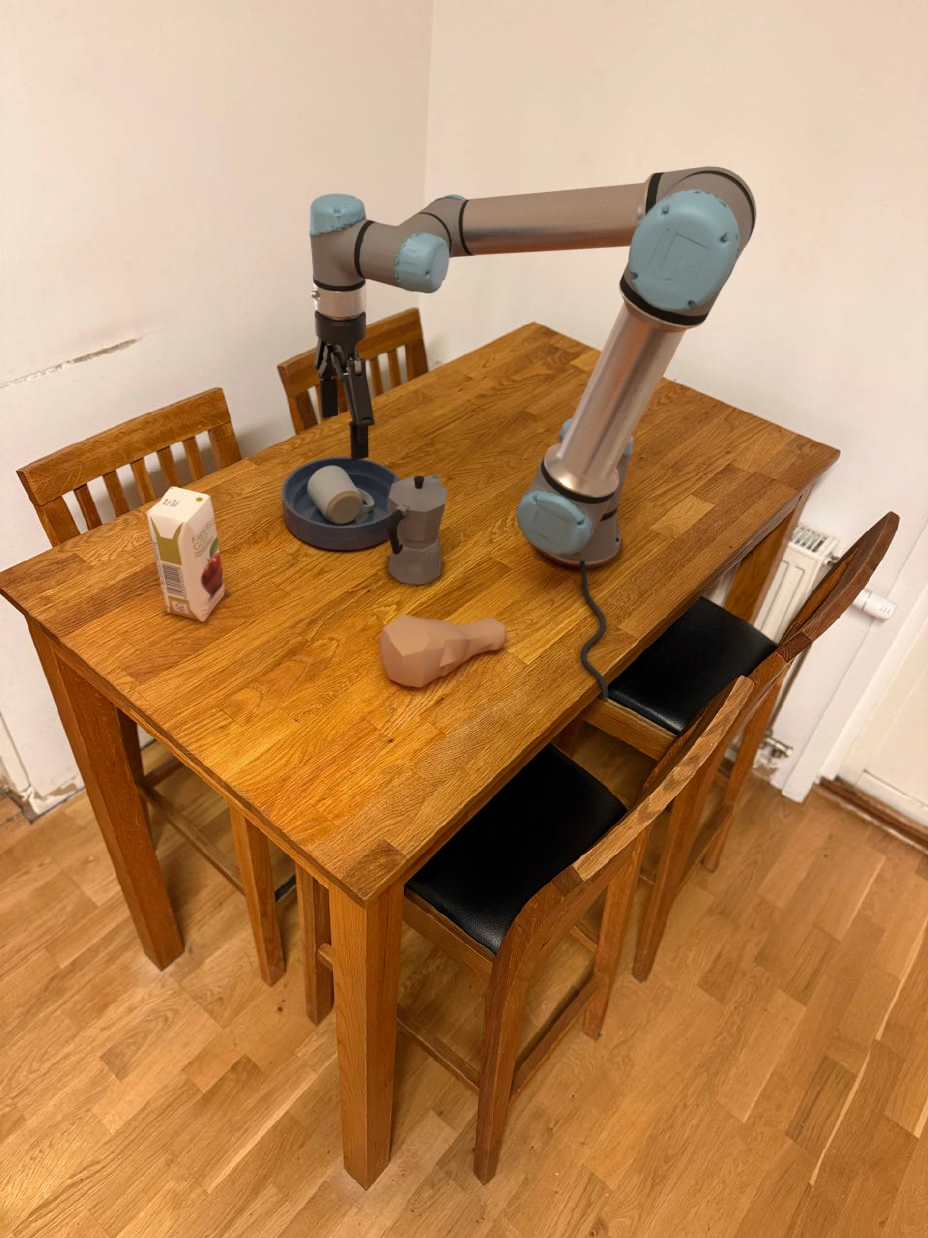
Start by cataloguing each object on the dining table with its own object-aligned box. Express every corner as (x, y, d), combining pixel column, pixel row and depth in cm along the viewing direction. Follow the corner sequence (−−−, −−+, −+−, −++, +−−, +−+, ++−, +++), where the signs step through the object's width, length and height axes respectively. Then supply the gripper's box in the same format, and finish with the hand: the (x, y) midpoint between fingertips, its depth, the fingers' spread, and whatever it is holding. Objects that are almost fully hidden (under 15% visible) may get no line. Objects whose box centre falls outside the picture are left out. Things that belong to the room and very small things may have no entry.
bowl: (422, 537, 153) (423, 511, 149) (306, 565, 145) (305, 539, 141) (376, 472, 166) (377, 447, 162) (268, 495, 158) (266, 469, 154)
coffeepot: (409, 537, 152) (413, 447, 140) (458, 556, 150) (466, 466, 137) (362, 588, 142) (361, 495, 130) (413, 608, 139) (418, 516, 127)
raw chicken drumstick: (363, 662, 130) (365, 610, 126) (476, 634, 140) (483, 585, 136) (397, 703, 123) (401, 648, 118) (515, 670, 133) (523, 619, 128)
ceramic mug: (327, 532, 150) (326, 495, 145) (307, 506, 155) (305, 469, 150) (382, 517, 155) (384, 480, 150) (361, 492, 160) (362, 455, 154)
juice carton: (159, 615, 134) (137, 514, 121) (188, 580, 140) (169, 480, 127) (205, 627, 133) (188, 526, 120) (231, 592, 139) (217, 492, 126)
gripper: (288, 280, 136) (297, 403, 151) (346, 351, 120) (350, 481, 135) (334, 274, 139) (339, 395, 153) (397, 343, 123) (395, 471, 138)
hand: (344, 436), depth 144 cm, fingers open, 13 cm apart
